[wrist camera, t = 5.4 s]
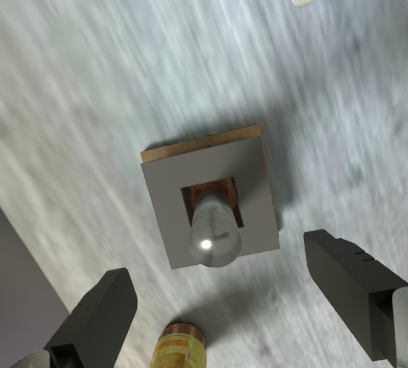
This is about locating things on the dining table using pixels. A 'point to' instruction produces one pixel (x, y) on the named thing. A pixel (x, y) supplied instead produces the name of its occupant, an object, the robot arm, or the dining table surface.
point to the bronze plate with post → (212, 202)
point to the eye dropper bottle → (302, 2)
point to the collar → (205, 172)
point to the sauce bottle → (180, 348)
